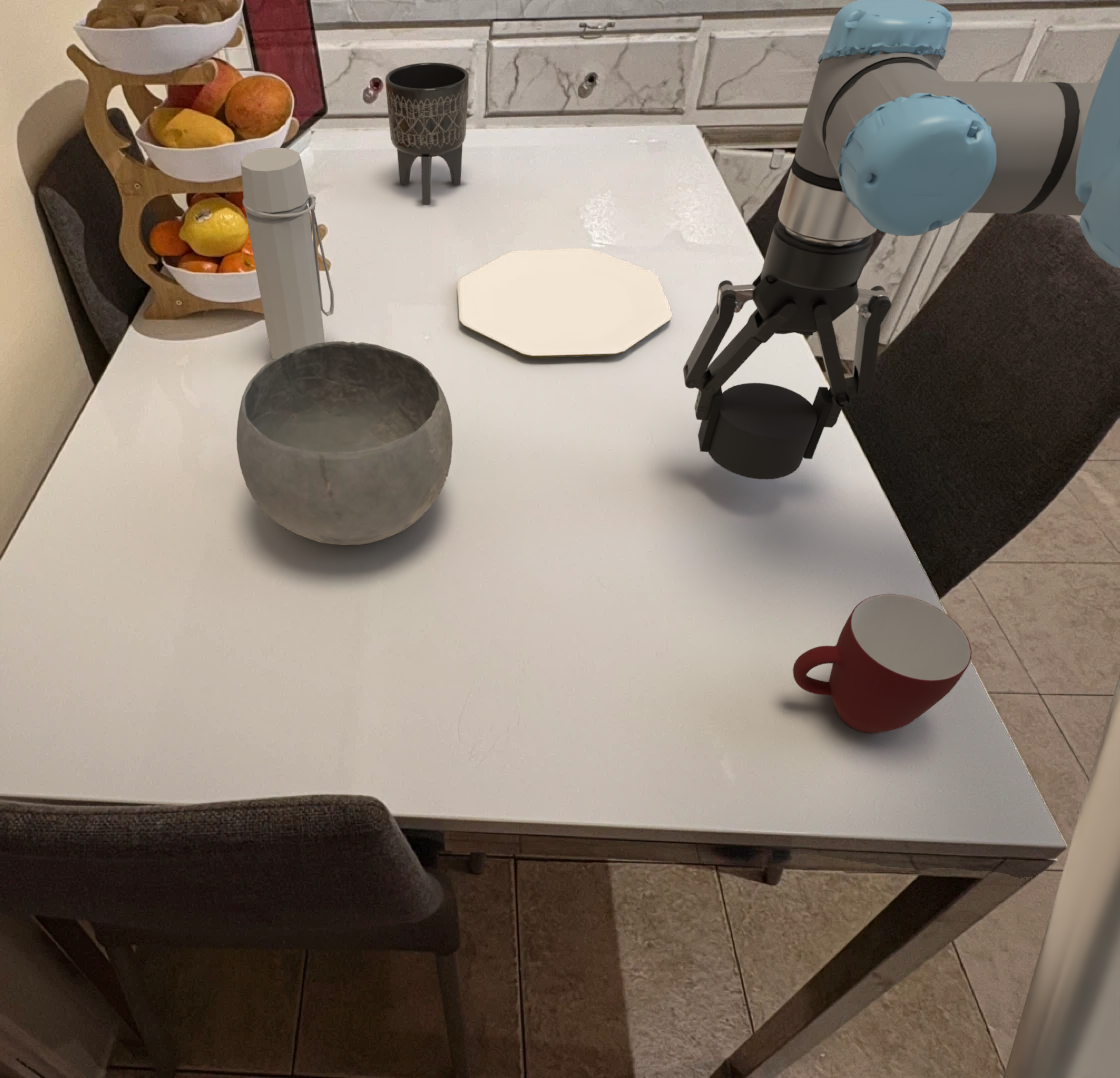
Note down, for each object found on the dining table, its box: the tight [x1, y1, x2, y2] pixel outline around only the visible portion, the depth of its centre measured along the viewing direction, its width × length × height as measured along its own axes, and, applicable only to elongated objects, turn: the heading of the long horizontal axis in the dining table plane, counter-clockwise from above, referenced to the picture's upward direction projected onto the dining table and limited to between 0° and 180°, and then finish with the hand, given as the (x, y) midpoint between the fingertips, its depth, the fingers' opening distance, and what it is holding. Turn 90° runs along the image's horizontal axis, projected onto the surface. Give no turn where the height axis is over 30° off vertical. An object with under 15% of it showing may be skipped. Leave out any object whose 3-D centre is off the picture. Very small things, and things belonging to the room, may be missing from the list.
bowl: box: [236, 340, 454, 546], centre depth 82 cm, size 20×20×15 cm
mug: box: [792, 593, 973, 734], centre depth 64 cm, size 10×8×10 cm
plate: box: [456, 247, 673, 358], centre depth 113 cm, size 28×28×2 cm
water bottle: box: [240, 147, 335, 361], centre depth 99 cm, size 9×8×25 cm
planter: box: [384, 62, 470, 205], centre depth 136 cm, size 13×13×18 cm
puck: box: [707, 382, 817, 480], centre depth 82 cm, size 9×9×5 cm
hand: (753, 446), depth 83 cm, fingers closed on puck, 9 cm apart
